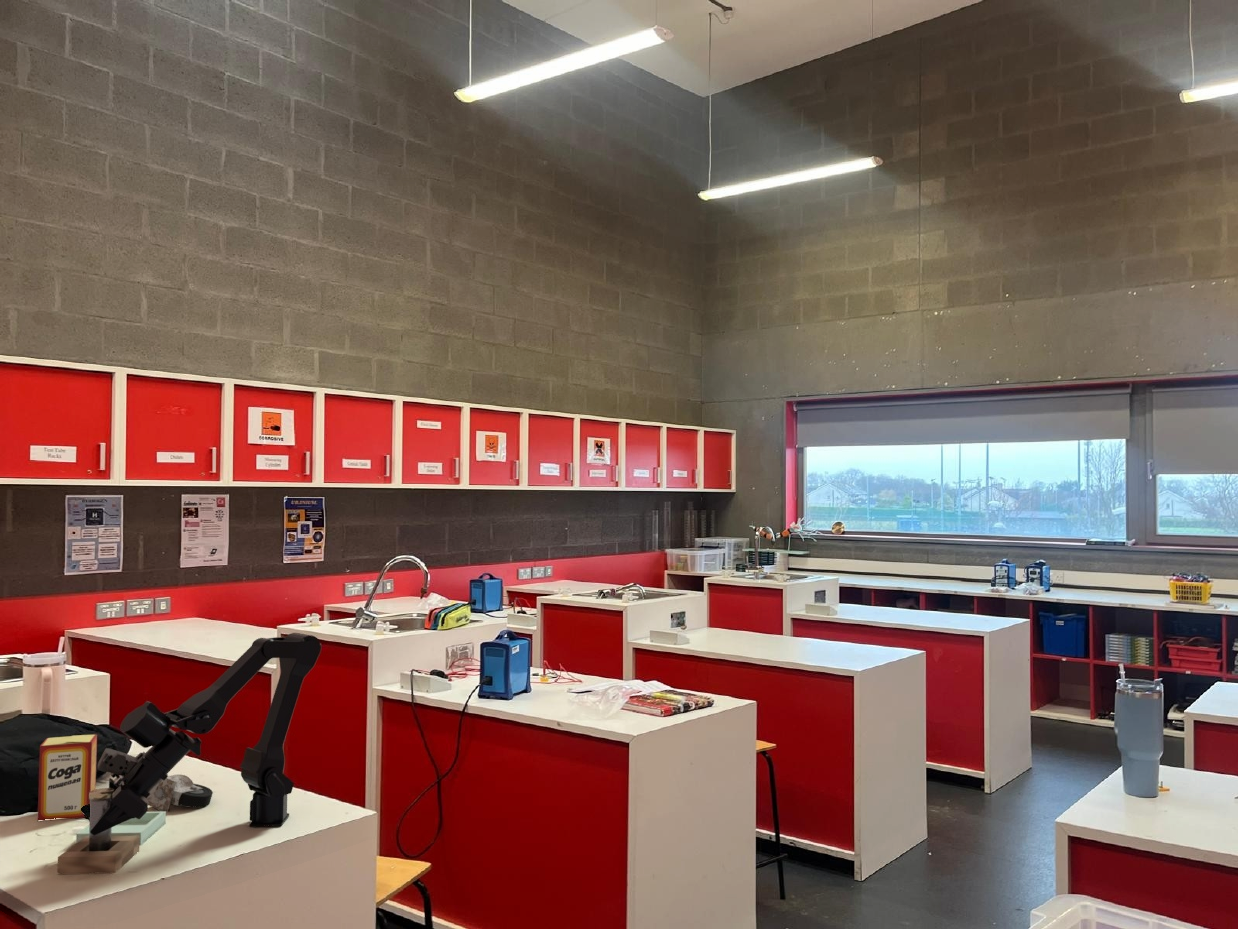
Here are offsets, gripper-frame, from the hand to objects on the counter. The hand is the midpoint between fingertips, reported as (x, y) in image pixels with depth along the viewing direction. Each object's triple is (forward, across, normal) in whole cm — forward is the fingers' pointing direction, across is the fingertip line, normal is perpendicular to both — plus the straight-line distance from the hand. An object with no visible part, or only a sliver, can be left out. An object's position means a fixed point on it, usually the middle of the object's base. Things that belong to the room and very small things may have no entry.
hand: (91, 827), depth 171 cm
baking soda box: (+8, -32, +2) cm, 34 cm away
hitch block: (+4, 0, +6) cm, 7 cm away
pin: (+4, 0, +6) cm, 7 cm away
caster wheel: (-8, -27, +17) cm, 33 cm away
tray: (+1, -14, +8) cm, 16 cm away
